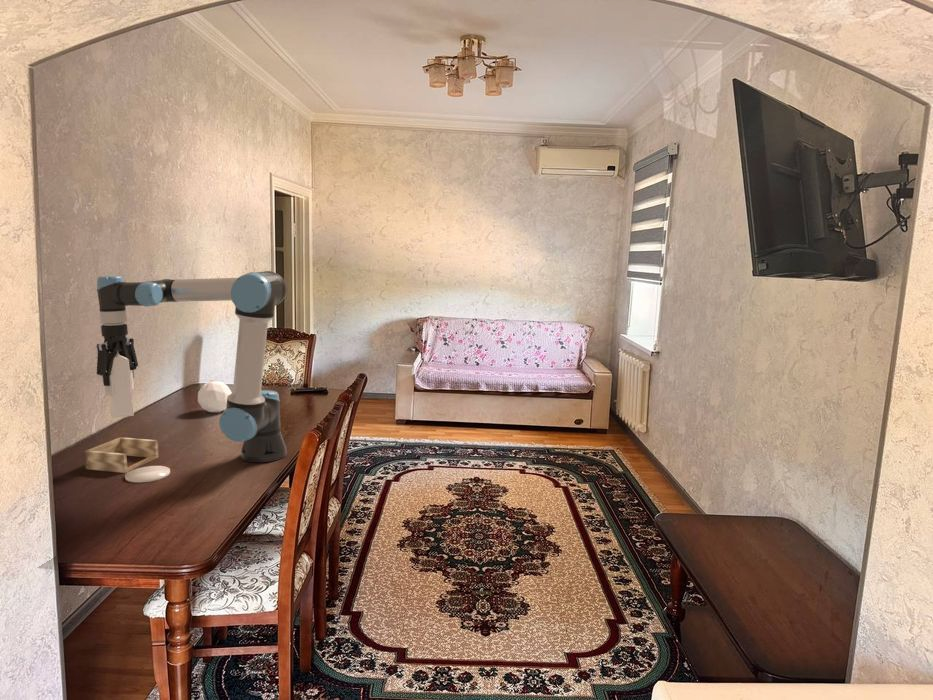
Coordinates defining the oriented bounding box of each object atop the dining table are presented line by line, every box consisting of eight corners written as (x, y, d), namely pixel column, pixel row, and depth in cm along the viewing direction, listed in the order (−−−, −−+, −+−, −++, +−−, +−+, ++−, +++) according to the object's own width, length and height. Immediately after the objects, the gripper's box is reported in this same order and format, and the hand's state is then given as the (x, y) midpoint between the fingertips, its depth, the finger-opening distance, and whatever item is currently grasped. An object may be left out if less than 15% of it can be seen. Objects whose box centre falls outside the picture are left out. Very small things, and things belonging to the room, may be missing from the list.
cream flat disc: (179, 469, 213) (178, 467, 213) (151, 484, 201) (151, 481, 201) (144, 466, 216) (144, 464, 216) (115, 480, 204) (115, 478, 204)
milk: (113, 418, 213) (106, 352, 209) (110, 414, 217) (103, 349, 213) (134, 415, 216) (128, 349, 212) (130, 411, 221) (124, 347, 217)
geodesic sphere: (221, 404, 273) (228, 373, 280) (187, 404, 274) (194, 373, 280) (233, 418, 287) (239, 388, 293) (201, 417, 287) (207, 388, 293)
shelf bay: (158, 457, 226) (157, 440, 225) (125, 472, 210) (123, 455, 209) (121, 453, 229) (120, 437, 228) (85, 469, 214) (83, 451, 213)
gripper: (127, 319, 223) (133, 384, 226) (78, 327, 202) (85, 399, 206) (146, 320, 221) (152, 385, 225) (98, 328, 201) (105, 400, 204)
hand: (120, 392), depth 215 cm, fingers closed on milk, 8 cm apart
